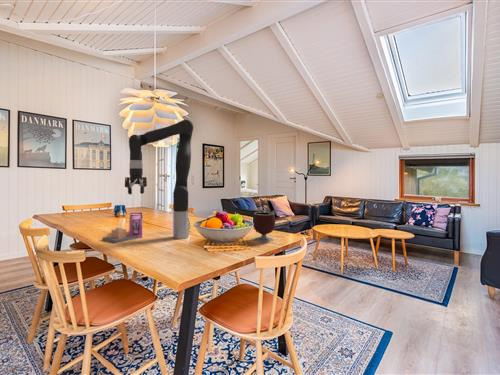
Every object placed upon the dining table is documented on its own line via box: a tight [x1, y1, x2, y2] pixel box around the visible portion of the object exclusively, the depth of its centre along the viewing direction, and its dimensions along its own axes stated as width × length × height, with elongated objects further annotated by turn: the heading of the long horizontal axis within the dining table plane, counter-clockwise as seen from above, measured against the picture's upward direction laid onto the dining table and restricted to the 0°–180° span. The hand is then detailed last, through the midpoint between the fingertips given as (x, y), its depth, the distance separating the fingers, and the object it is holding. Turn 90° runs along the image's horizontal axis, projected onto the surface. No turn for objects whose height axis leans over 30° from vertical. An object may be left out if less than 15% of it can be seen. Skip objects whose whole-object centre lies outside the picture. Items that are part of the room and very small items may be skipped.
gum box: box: [128, 212, 144, 239], centre depth 183 cm, size 24×8×14 cm, turn 22°
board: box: [102, 226, 136, 244], centre depth 169 cm, size 13×13×8 cm
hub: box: [110, 228, 127, 239], centre depth 169 cm, size 5×7×4 cm
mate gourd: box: [252, 209, 277, 243], centre depth 174 cm, size 16×14×20 cm
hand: (136, 193), depth 170 cm, fingers open, 8 cm apart
